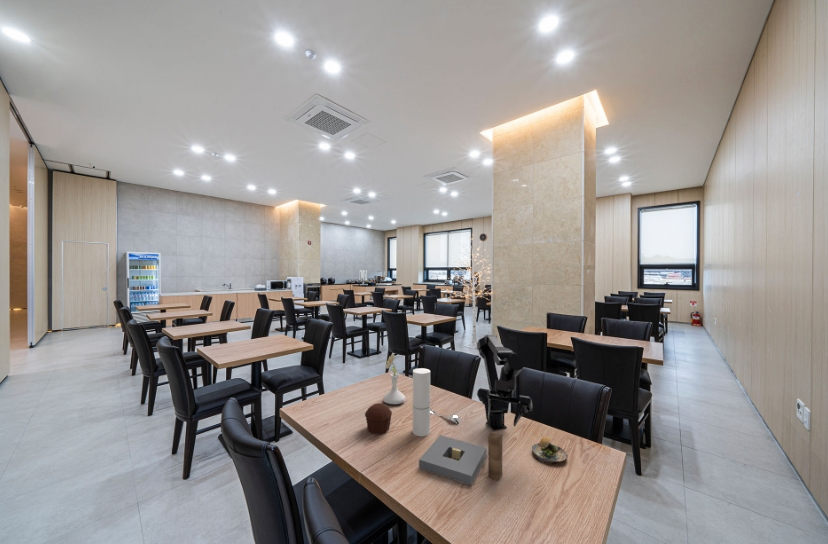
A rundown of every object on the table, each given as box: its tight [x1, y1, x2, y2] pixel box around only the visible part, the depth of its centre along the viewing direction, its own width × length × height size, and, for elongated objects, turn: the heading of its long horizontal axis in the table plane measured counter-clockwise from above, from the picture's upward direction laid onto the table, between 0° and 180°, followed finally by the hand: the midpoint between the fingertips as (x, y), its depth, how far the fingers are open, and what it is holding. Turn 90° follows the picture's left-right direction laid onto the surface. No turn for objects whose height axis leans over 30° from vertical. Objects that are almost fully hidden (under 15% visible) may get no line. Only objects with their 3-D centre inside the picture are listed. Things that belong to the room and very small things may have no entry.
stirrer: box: [430, 407, 462, 425], centre depth 143 cm, size 20×4×5 cm
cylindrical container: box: [412, 367, 431, 437], centre depth 129 cm, size 7×7×25 cm
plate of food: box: [531, 435, 568, 466], centre depth 113 cm, size 12×12×8 cm
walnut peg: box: [487, 431, 503, 482], centre depth 101 cm, size 4×4×13 cm
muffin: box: [364, 402, 393, 436], centre depth 131 cm, size 12×11×10 cm
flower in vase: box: [382, 353, 406, 405], centre depth 158 cm, size 13×11×25 cm
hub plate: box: [418, 434, 488, 486], centre depth 108 cm, size 18×18×3 cm
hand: (500, 422), depth 108 cm, fingers open, 9 cm apart
